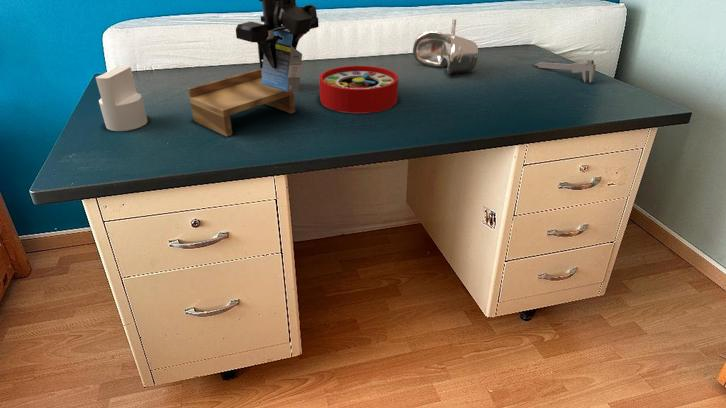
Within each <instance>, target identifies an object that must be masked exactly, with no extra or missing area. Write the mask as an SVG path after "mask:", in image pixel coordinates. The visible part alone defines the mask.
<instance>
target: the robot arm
mask: <svg viewBox="0 0 726 408" xmlns="http://www.w3.org/2000/svg"><path fill="white" fill-rule="evenodd" d="M296 1H297V0H258V2H260V3H261V7H262V16H260V22H262V23H259V22H255V21H247V22H242V23H238V24H237V25H236V27H235V36H236V39H238V40H242V41H245V42H249V43H256V44H257V53H258V65H259V68H260V69H262V68H263V56H264V54H265V56H266V58H267V60H268V61H269V63H270V65H271V67H272V68H274V69H276V67H277V60H276V47H275V45H276V43H277V42H278V40H283V38H282V37H280V36H279V35H278V36H274V32H275V31H283V32H287V33H291V34H293V39H292V44H291V46H292V47H293V48H295V49H296V50H297V47H298V44H299V41H300V40H301V38H303V36H305V35H307V34H308V33H309V32H310V31H311V30H314V29H317V28H319V27H320V25H319V18H318V14H317V13H318V12H317V7H316V6H315V5H313V4H306V5H304V6H298V5H297V3H296Z"/></svg>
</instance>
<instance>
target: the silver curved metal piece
mask: <svg viewBox="0 0 726 408" xmlns="http://www.w3.org/2000/svg"><path fill="white" fill-rule="evenodd" d="M456 26H457V19H456V18H452V21H451V29H450V30H451V31H450V32H451V33H443V32H439V31H436V30H429V31H428V30H427V31H424V32H422V33H420V34H418V36H417V37H416V38H415V40H414V42H413V45H412V54H413V58H414V59H415V60H416V61H417V63H419V64H421V65H422V66H426V67H430V68H446V73H447V74H448V75H449V76H451V75H453V74H459V73H467V72H471V71H473V70H474V69H475V68H476V65H477V62H478V56H479V48H478V47H479V46H478V45H477V43H476V42H475V41H473V40H470V39H467V38H465V37H461V36H458V35H456Z"/></svg>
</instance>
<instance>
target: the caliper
mask: <svg viewBox="0 0 726 408" xmlns="http://www.w3.org/2000/svg"><path fill="white" fill-rule="evenodd" d="M534 66H536V67H537V68H538V69H540V68H541V69H553V70H567V71H571V73H572V74H573V73H574V74H579V73H581V76H582V80H583V82H584V83H587V82H588V83H593V82H594V80H595V75H596V64H595V62H594V59H592V60H590V59H587V60H586V63H583V62H572V63H559V62H558V63H557V62H541V61H540V62H537V63H535V64H534Z"/></svg>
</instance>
